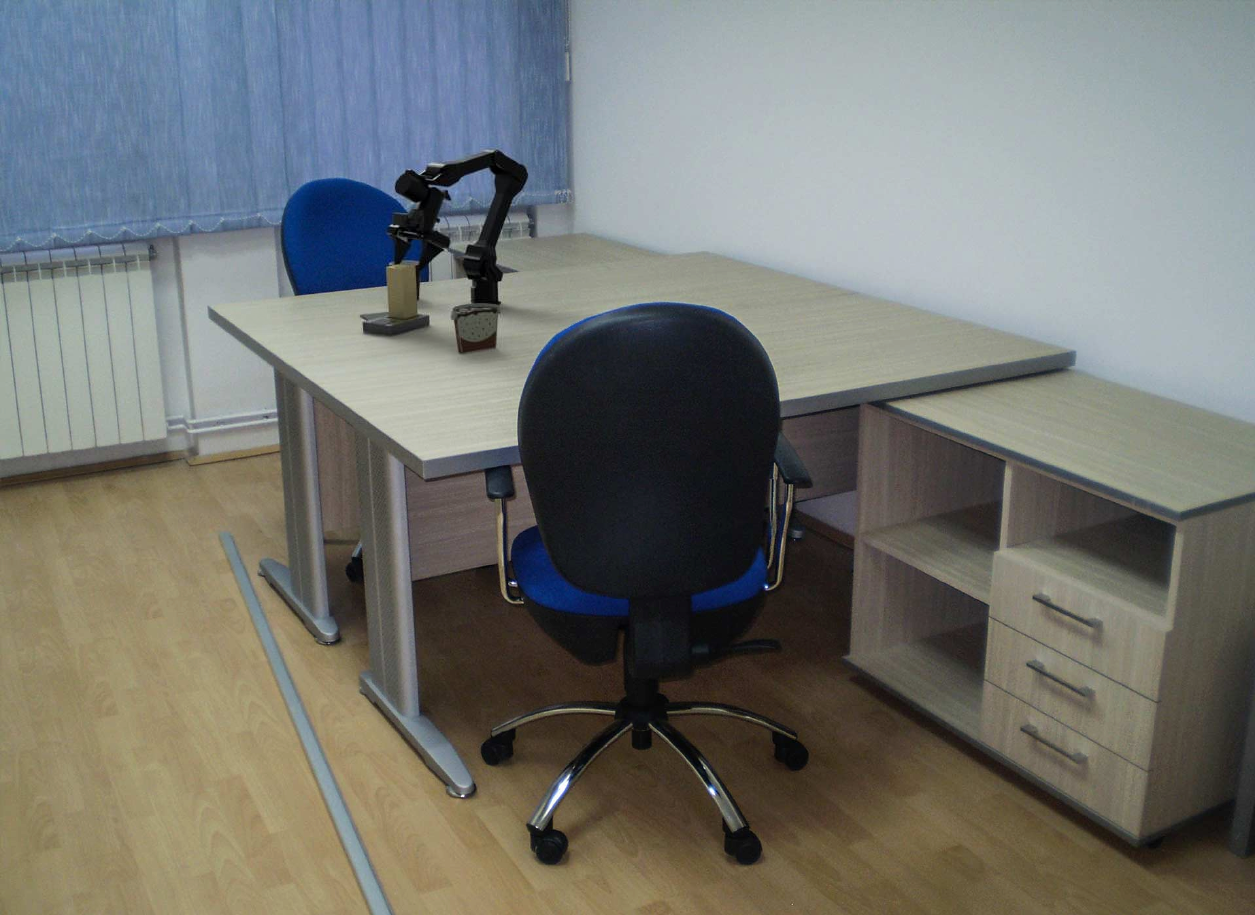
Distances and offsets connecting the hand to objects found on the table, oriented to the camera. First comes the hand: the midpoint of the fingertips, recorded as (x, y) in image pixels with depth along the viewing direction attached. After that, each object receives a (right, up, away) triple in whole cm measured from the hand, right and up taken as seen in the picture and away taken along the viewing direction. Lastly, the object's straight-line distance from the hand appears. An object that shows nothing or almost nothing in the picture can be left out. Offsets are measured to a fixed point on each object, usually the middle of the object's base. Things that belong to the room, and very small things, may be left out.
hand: (407, 268), depth 321 cm
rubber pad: (-7, -12, +5) cm, 15 cm away
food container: (+20, -23, -27) cm, 40 cm away
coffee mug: (-4, -4, +29) cm, 29 cm away
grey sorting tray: (-1, -16, -7) cm, 17 cm away
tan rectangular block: (0, -15, -5) cm, 16 cm away
